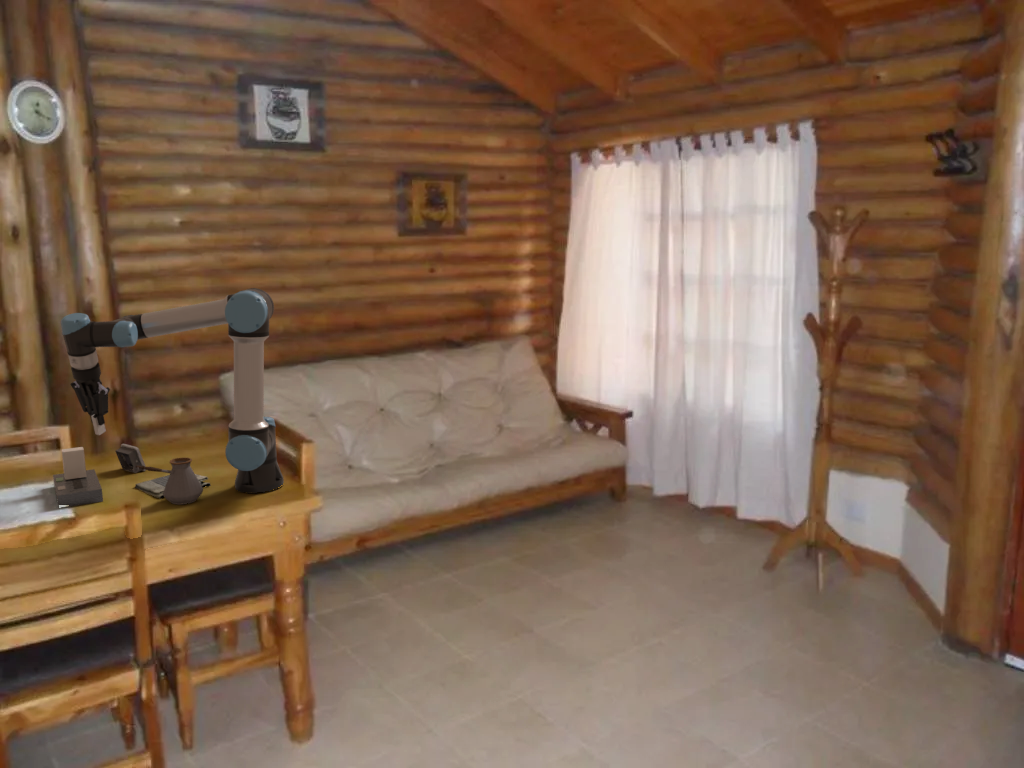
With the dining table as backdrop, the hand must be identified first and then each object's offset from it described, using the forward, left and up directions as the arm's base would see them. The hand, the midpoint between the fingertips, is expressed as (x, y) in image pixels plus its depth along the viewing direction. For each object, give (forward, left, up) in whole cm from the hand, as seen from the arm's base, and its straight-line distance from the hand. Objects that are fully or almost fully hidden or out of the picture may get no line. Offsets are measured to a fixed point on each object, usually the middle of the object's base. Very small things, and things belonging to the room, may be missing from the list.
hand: (100, 432), depth 252 cm
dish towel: (-2, -19, -21) cm, 29 cm away
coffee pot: (-20, -15, -21) cm, 32 cm away
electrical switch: (+24, -10, -21) cm, 33 cm away
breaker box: (+6, +8, -20) cm, 23 cm away
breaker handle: (+11, +8, -16) cm, 21 cm away
